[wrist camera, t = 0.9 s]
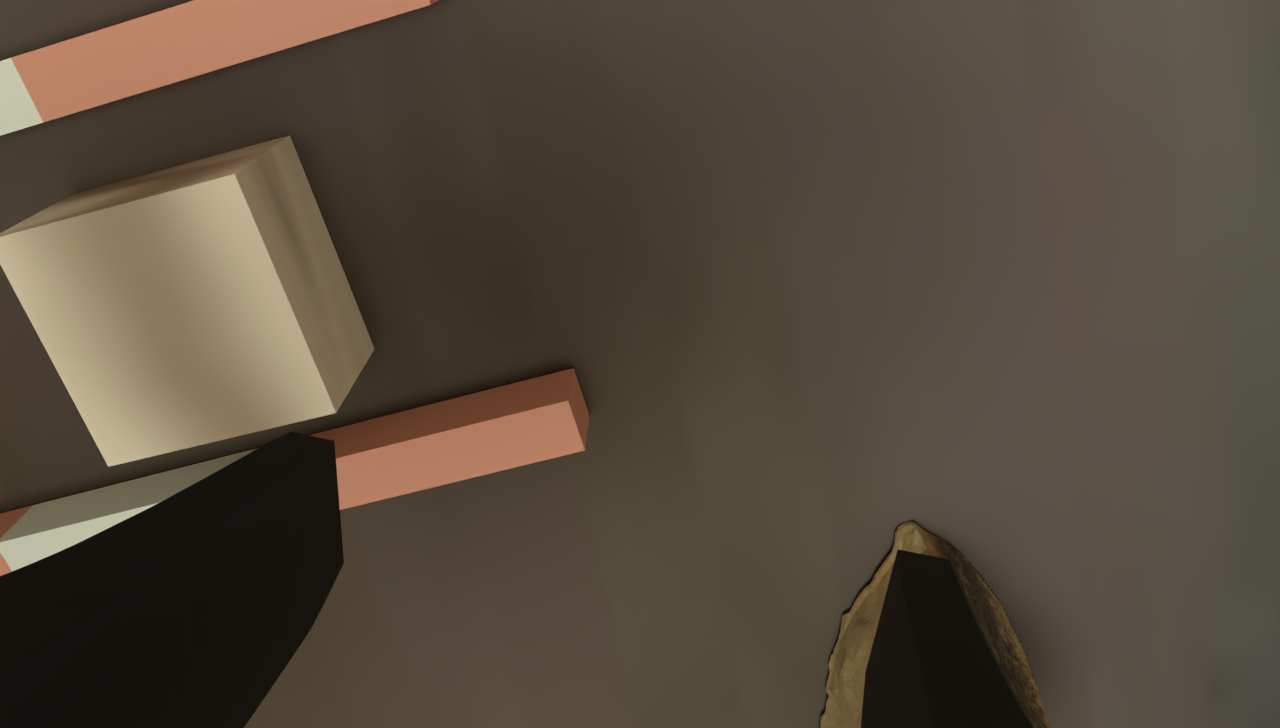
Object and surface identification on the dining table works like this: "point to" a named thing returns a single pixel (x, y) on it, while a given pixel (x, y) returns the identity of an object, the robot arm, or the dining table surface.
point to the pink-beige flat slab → (365, 452)
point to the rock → (862, 621)
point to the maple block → (191, 302)
